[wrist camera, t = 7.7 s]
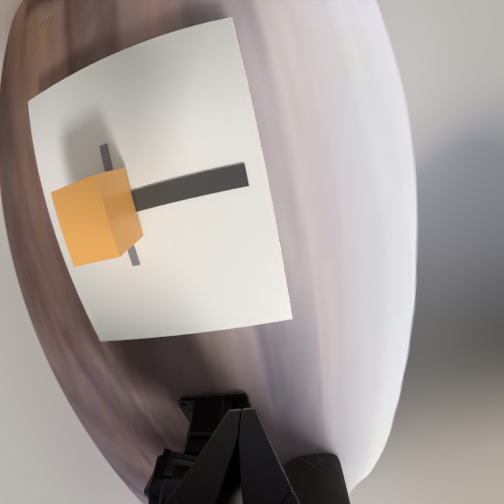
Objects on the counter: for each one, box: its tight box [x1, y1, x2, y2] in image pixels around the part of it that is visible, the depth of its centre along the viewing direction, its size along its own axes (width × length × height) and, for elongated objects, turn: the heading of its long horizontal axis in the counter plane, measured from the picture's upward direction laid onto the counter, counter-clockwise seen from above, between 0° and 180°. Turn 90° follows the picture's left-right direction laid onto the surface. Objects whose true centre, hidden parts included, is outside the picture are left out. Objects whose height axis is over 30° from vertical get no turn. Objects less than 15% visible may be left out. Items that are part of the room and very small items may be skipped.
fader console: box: [28, 17, 292, 341], centre depth 16 cm, size 18×14×3 cm
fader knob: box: [51, 167, 143, 267], centre depth 14 cm, size 4×3×3 cm
